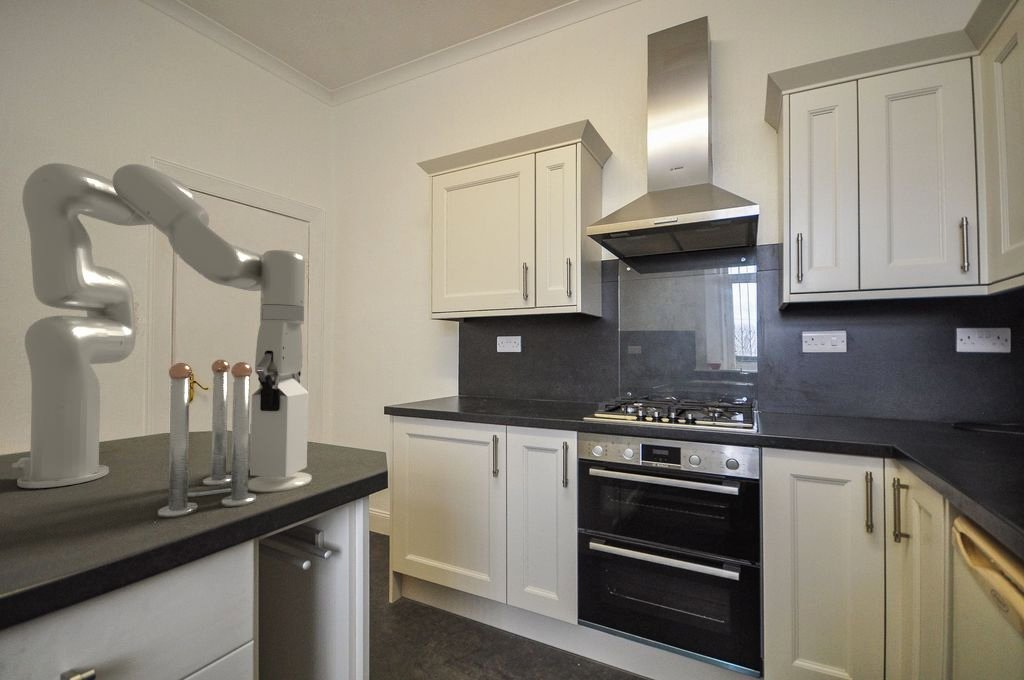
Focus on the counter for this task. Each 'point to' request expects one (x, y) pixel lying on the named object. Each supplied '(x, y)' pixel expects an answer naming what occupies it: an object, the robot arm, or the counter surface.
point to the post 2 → (219, 425)
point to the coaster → (279, 482)
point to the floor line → (209, 492)
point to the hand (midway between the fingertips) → (280, 407)
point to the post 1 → (179, 444)
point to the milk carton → (280, 432)
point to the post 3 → (240, 438)
